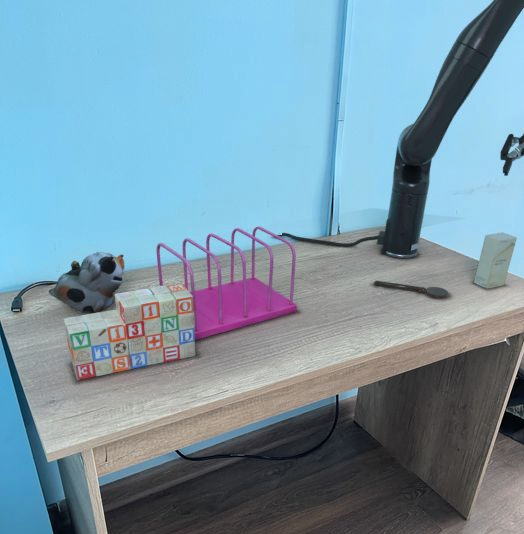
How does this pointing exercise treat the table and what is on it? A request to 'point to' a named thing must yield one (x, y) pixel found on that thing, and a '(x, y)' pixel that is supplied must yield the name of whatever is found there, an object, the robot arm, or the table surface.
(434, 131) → the robot arm
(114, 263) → the lucky cat figurine
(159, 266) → the file sorter
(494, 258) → the cosmetic box
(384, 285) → the spoon
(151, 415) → the table surface
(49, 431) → the table surface
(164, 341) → the stack of blocks
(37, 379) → the table surface
